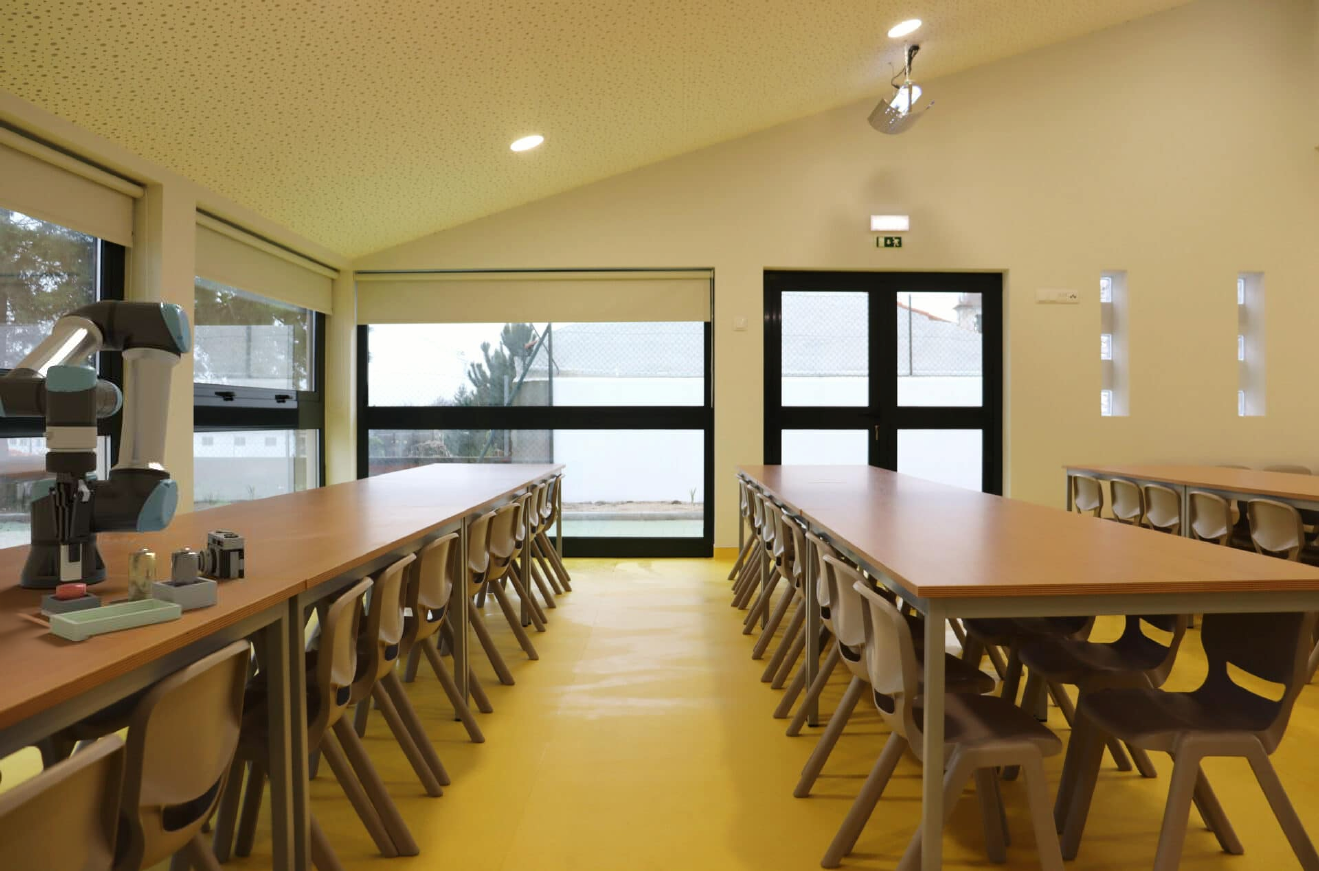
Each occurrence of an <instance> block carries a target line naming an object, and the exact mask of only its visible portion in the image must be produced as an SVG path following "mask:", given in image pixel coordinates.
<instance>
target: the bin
mask: <svg viewBox="0 0 1319 871" xmlns="http://www.w3.org/2000/svg"><path fill="white" fill-rule="evenodd" d="M153 598H156V599H160V600H163V601H167V602H170V603H174V604H178V605H181V612H184V611H188V610H195V609H199V608H204V607H210V606H215V605H218V581H217V580H213V579H209V578H203V577H202V576H201V577H200V576H198V584H192V585H186V586H180V587H174V586H172V579H169V580H163V581H156V582H155V583H152V599H153Z"/></svg>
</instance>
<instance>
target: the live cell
mask: <svg viewBox="0 0 1319 871" xmlns="http://www.w3.org/2000/svg"><path fill="white" fill-rule="evenodd" d="M156 555H157V552H156V551H148V548H139V549H137V552H132V553H131V552H130V553H128V598H129V601H128V603H129V602H135V601H141V600H147V599H152V583H155V582H157V578H156V577H157V571H156V570H157V568H156V567H157V566H156V565H157V561H156V560H157V556H156Z"/></svg>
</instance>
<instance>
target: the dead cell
mask: <svg viewBox="0 0 1319 871" xmlns="http://www.w3.org/2000/svg"><path fill="white" fill-rule="evenodd" d="M179 550H180V551H176V552H172V553H171V580H172V586H174V587H180V586H186V585H192V584H198V577H199V571H198V554H199V551H196V550H191V549H190V548H189V547H184V548H183V547H182V548H180V549H179Z"/></svg>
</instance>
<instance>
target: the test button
mask: <svg viewBox="0 0 1319 871" xmlns="http://www.w3.org/2000/svg"><path fill="white" fill-rule="evenodd" d="M55 589H56V593H55V594H56V598H57V599H75V598H81V597H84V596H86V593H87V585H86V584H84V583H73V584H64V585H59V586H57V587H56V588H55Z"/></svg>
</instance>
